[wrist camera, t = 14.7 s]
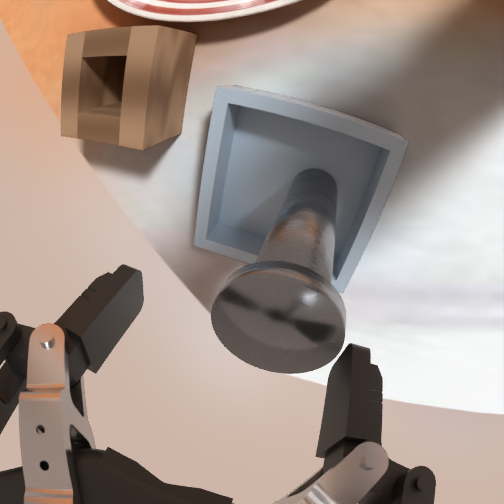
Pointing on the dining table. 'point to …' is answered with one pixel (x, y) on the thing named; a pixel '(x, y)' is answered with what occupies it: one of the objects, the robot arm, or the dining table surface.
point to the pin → (288, 287)
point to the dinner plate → (197, 8)
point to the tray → (290, 172)
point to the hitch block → (126, 84)
